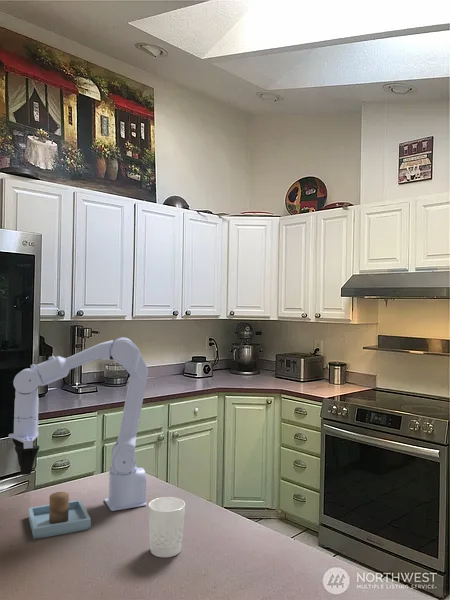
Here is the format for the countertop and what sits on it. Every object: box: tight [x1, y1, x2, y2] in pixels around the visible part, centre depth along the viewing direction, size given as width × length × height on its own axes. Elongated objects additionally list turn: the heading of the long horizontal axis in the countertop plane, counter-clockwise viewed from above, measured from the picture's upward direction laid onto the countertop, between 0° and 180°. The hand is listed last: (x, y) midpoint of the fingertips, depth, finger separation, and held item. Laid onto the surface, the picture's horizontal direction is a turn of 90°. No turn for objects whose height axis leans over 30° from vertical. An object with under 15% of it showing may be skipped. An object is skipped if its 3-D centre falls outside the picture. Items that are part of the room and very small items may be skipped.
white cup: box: [148, 496, 186, 558], centre depth 106 cm, size 8×8×10 cm
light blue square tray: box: [27, 499, 92, 540], centre depth 118 cm, size 13×13×2 cm
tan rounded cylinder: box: [48, 491, 70, 524], centre depth 118 cm, size 4×4×6 cm
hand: (24, 469), depth 125 cm, fingers open, 7 cm apart
